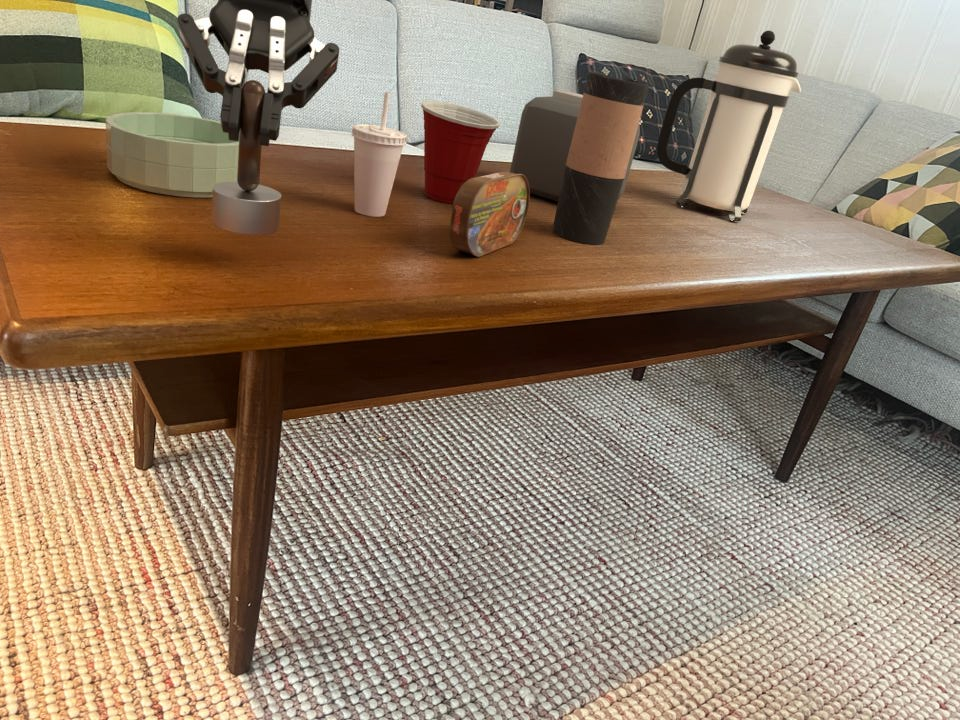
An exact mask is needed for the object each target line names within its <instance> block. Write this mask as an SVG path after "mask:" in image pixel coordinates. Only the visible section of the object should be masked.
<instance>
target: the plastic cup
mask: <svg viewBox="0 0 960 720" xmlns="http://www.w3.org/2000/svg"><path fill="white" fill-rule="evenodd" d="M420 105H421V107H420V108H421V109H422V114H423V129H424V134H423V135H424V138H423V139H424V142H423V144H424V146H423V147H424V148H423V153H424V154H423V170H424V190H425V191H424V192H425V194H424V195H425V196H426V197H427V198H429V199H431V200H433V201H437V202H441V203H446V204H452V205H453V202H454V199H455V197H456V194H457V192H458V191H459V189H460V188H461V186H462V185H463V184H464V183H465V182H466V181H467V180H469V179H471V178H475V177H477V173H478V170H479V167H480V164H481V162H482V160H483V157H484V154H485V152H486V149H487V145H489V142H490V140H491V138H492V136H493V134H494V133H495V131H496V129H499V127H500V126H501V125H500V124H501V122H500V121H499V120H498V119H497V118H495V117H493V116H491V115H488V114H487V113H484V112H483V111H482V112H481V111H479V110H476V109H473V108H470V107H467V106H462V105H459V104H454V103H449V102H445V101H438V100H423V101H422V102H421V104H420Z"/></svg>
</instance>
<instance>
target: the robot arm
mask: <svg viewBox="0 0 960 720" xmlns="http://www.w3.org/2000/svg"><path fill="white" fill-rule="evenodd" d="M312 5H313V0H217V2H216V3H215V5H214V6H213V7H212V8H211V9H210V10H209V14H208V16H205V17H201V18H196V19H194V17H193V16H192V15H191V14H189V13H185V12H184V13H180V14H179V15H178V16H177V24H178V31H179V39H180V42H181V45H182V47H183V48H184V50H185V52H186V55H187V56H188V58H189V60H190V62H191V64H192V66H193V69H194V70H195V72H196V74H197V76H198V78H199V79H200V82H201V84H202V86H203V88H204V90H205V91H206V92H207V93H209V94H219V95H220V96H222V101H221V108H220V115H219V117H220V122H221V127H222V130H223V132H225V133H228V136H229V140H232V141H238V139H239V132H240V120H241V101H242V87H243V85H244V83H246V82H247V81H248V77H249V73H250V71H253V70H254V71H255V70H256V71H257V70H258V71H262V72H265V73H267V74H268V83H267V84H268V85H267V91H265V92H264V100H263V109H262V117H261V125H260V145H262V147H270V142H271V141H273V142H277V140H278V138H279V136H280V129H281V128H280V127H281V121H282V120H281V119H282V111H283V109H284V108H286V107H290V106H292V107H293V108H295V109H303V108H304V107H305V106H306V105H308V103H309V102H310V101H311V99H312V98H313V97H314V96H315V95H316V94H317V93H318V92H319V91H320V90H321V89H322V87H323V86H325V84H326V83H327V82H328V81H329V80H330V79H331V78H332V76H334V74H335V73H336V72H337V70H338V65H339V57H340V46H339V45H337V44H336V43H334V42H328V43H326V44H325V43H324V42H322V41H320V40H319V39H317V38H316V37H315V30H314V28H313V26H312V24H311V14H312ZM211 35H214V37H215V38H216V40H217V41H218V43H219V45H220V46H221V47H222V49H223V50H224V52H225V53H226V55H227V56H228V62H227V67H226V70H225V71H224V70H222V69H221V68H219V65H218V64H217V61H216V60H215V58H214V56H213V54H212V52H211V51H210V48H209V46H210V44H211V40H210V37H211ZM308 54H309V59H308V61H309V62H308V63H307V64H306V65H305V66H304V67H303V69H301V71H300V72H299V73H298V74H297V75H296V76H295V77H294V78H293V79H292V80H291V81H288V82H285V71H287V70H289V69H290V68H291V67H292V66H294V65H295V64H296V63H297V62H299V61H300V60H301V59H302V58H303V57H305V56H306V55H308Z"/></svg>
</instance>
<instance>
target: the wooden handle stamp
mask: <svg viewBox="0 0 960 720" xmlns="http://www.w3.org/2000/svg"><path fill="white" fill-rule="evenodd" d="M264 92H265V93H266V89H265V87H264V86H263V84H262V83H261V82H260V81H258V80H254V79H250V80H247V82H246V83H244V85H243V87H242V101H241V120H240V133H239V152H238V171H237V182H222V183H218V184H215V185H214V186H213V192H212V197H211V224H212V225H213V226H215V227H216V228H218V229H220V230H223V231H225V232H228V233H231V234H232V233H233V234H238V235H245V236H267V235H271V234H274V233H276V232H278V231H279V229H280V221H281V207H282V193H281V192H280V191H278V190H277V189H275V188H272V187H269V186H266V185H262V184H260V178H261V163H262V149H263V145H260V125H261V117H262V109H263V100H264Z"/></svg>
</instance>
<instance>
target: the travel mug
mask: <svg viewBox="0 0 960 720" xmlns="http://www.w3.org/2000/svg"><path fill="white" fill-rule="evenodd" d="M648 90H649V83H647V82H643V81H640V80H636V79H631V78H623V79H620V78H615V77H611V76H607V75H606V74H605V73H602V72H600V71H599V72H598V71H591V70H590V71H589V72H588V74H587V78H586V83H585V87H584V89H583V94H582V95H583V98H582V102H581V106H580V110H579V114H578V118H577V122H576V126H575V130H574V134H573V138H572V142H571V146H570V150H569V154H568V158H567V162H566V167H565V171H564V176H563V181H562V186H561V191H560V195H559V200H558V202H557V206H556V211H555V216H554V221H553V226H552V232H553V233H555V234H556V235H557V236H559V237H560V238H563V239H565V240H568V241H571V242H575V243H581V244H586V245H603V244H604V243H605V241H606V238H607V235H608V232H609V229H610V226H611V223H612V220H613V216H614V213H615V210H616V207H617V204H618V197H619V194H620V190H621V187H622V184H623V181H624V177H625V174H626V170H627V166H628V162H629V158H630V155H631V151H632V147H633V143H634V140H635V136H636V132H637V128H638V124H639V125H640V120H641V117H642V113H643V109H644V105H645V103H646V98H647V94H648Z"/></svg>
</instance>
